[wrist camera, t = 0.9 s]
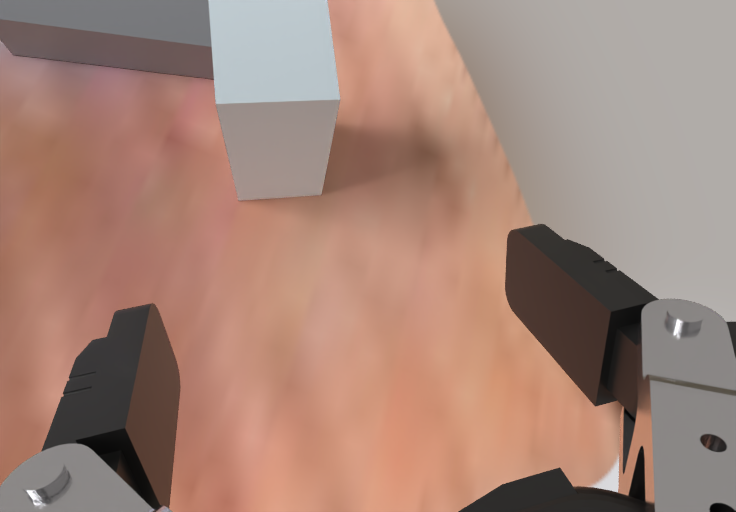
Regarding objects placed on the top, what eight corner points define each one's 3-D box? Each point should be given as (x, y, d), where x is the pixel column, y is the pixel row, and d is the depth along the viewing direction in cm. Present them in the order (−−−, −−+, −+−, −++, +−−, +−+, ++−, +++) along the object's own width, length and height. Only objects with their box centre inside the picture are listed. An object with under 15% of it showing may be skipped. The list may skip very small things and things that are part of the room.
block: (238, 200, 28) (215, 103, 19) (232, 124, 29) (207, -4, 20) (321, 195, 29) (340, 99, 20) (313, 121, 30) (326, -4, 21)
